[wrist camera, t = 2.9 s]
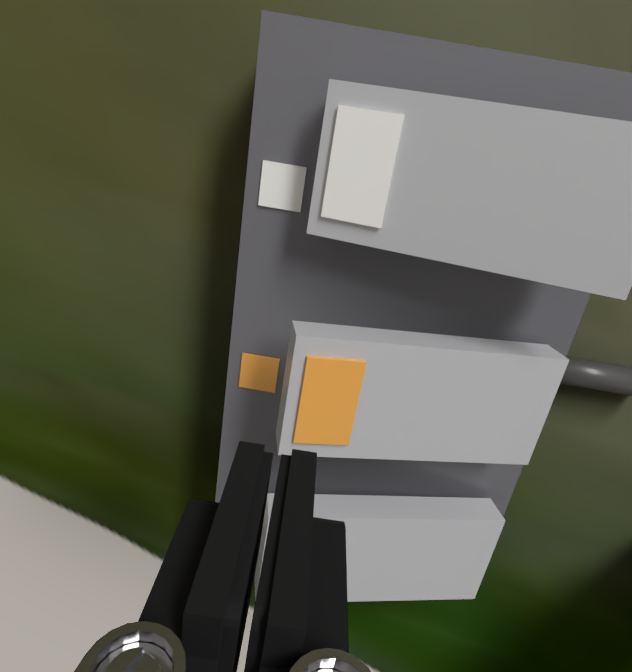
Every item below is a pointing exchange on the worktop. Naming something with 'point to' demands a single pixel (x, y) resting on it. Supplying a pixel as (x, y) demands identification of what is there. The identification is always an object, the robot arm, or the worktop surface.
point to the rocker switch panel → (377, 264)
